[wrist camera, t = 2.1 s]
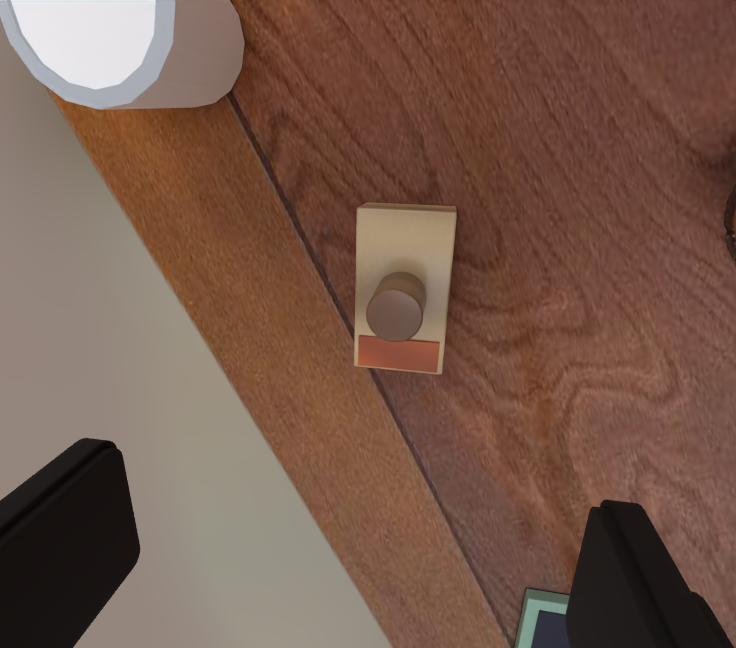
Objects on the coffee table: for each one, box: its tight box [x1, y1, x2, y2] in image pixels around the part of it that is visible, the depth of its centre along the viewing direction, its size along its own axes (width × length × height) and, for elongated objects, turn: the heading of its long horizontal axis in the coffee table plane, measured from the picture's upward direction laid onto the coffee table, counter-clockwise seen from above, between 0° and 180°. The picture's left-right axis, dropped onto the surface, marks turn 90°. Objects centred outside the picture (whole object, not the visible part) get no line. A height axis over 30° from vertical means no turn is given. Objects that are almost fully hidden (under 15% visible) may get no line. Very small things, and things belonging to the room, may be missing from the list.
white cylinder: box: [0, 0, 245, 110], centre depth 19 cm, size 7×7×7 cm
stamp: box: [354, 202, 457, 374], centre depth 22 cm, size 8×4×6 cm, turn 178°
